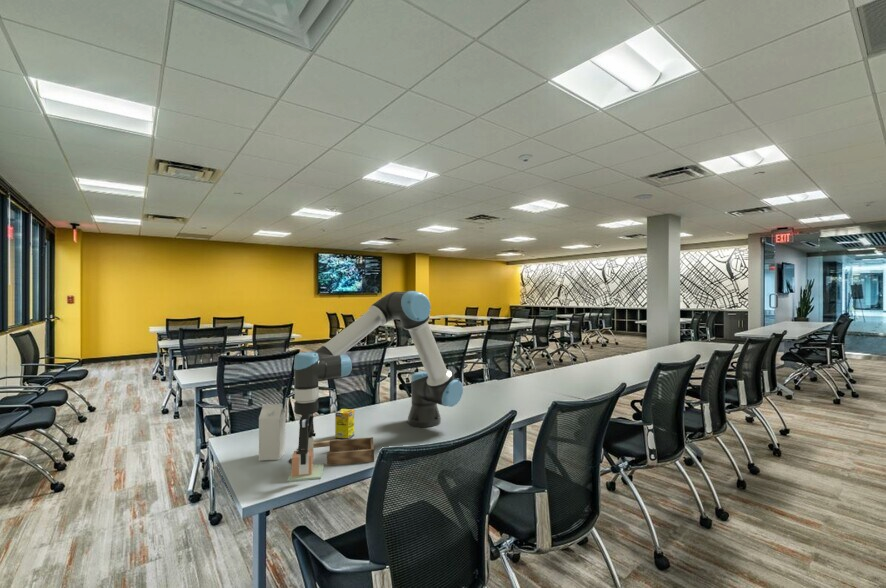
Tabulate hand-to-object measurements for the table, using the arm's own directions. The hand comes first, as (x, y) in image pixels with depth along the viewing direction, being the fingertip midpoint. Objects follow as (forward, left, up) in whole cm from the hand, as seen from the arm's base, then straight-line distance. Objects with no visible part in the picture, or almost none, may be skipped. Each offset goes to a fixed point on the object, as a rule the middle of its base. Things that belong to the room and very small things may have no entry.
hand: (306, 464), depth 133 cm
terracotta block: (+1, 0, -2) cm, 2 cm away
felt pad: (0, 0, -3) cm, 3 cm away
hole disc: (+4, -12, -3) cm, 13 cm away
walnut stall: (-14, -12, -3) cm, 18 cm away
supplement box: (-11, -32, -3) cm, 34 cm away
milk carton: (+14, -17, -3) cm, 22 cm away
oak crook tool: (-2, -22, -3) cm, 22 cm away
